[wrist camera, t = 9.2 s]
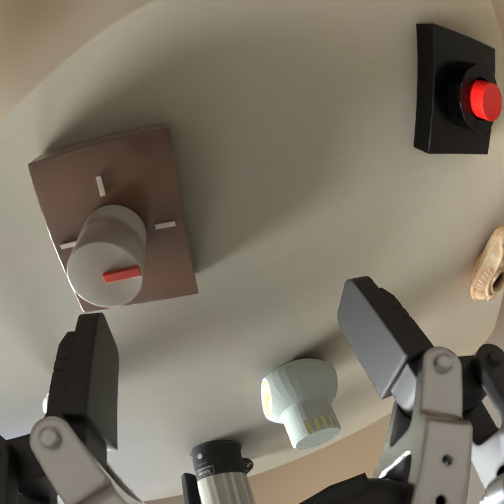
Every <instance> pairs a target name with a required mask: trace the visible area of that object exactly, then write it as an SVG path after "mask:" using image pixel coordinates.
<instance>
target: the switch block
mask: <svg viewBox="0 0 504 504" xmlns="http://www.w3.org/2000/svg"><path fill="white" fill-rule="evenodd" d="M416 25H417V52H418V81H417V109H416V125H415V137H414V147H415V148H417V149H419V150H422V151H424V152H426V153H428V154H488V148H489V141H490V134H491V126H492V124H493V122H494V121H488V120H485V119H482V118H480V117H477V116H475V115H474V114H473V113H472V112H471V110H470V106H469V89H470V87H471V84H472V82H474V81H475V80H482V81H487V82H491V83H494V84H495V85H497V84H496V80H495V49H494V48H492V47H490V46H488V45H486V44H483V43H481V42H479V41H477V40H474V39H472V38H470V37H467V36H465V35H462V34H460V33H457V32H455V31H452V30H450V29H447V28H444V27H441V26H439V25H436V24H416Z"/></svg>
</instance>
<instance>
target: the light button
mask: <svg viewBox="0 0 504 504" xmlns="http://www.w3.org/2000/svg"><path fill="white" fill-rule="evenodd" d="M469 106H470V110H471V112H472V113H473V114H474V115H475V116H477V117H480V118H482V119H485V120H488V121H495V120H496V119H497V118H498V117H499V115H500V112H501V108H502V97H501V93H500V90H499V88H498V87H497V85H495V84H494V83H491V82H487V81H482V80H475V81H474V82H472V84H471V87H470V89H469Z"/></svg>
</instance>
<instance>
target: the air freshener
mask: <svg viewBox="0 0 504 504" xmlns="http://www.w3.org/2000/svg"><path fill="white" fill-rule="evenodd" d="M337 387H338V381H337V374H336V371H335V369H334V367H333V366H332V365H331V364H329V363H327V362H325V361H322V360H319V359H299V360H294V361H291V362H288V363H286V364H283V365H281V366H279V367H278V368H276V369H274V370H273V371H272V372H270V373H269V374H268V375H267V376H266V377H265V378H264V379H263V381H262V387H261V397H262V406H263V410H264V414H265V416H266V418H267V419H268V420H270V421H273V422H277V423H284V424H285V427H286V430H287V432H288V435H289V438H290V440H291V443H292V446H293V447H295V448H297V449H309V448H313V447H316V446H319V445H321V444H323V443H326V442H327V441H329V440H331V439H332V438H334V437H335V436H336V435H337V434H338V433H339V431H340V428H341V426H340V424H339V422H338V420H337V418H336V416H335V413H334V411H333V409H332V407H331V403H332V402H333V401H334V399H335V397H336V393H337Z"/></svg>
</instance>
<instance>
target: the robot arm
mask: <svg viewBox="0 0 504 504" xmlns="http://www.w3.org/2000/svg"><path fill="white" fill-rule="evenodd" d="M338 323H339V326H340V328H341V330H342V332H343V334H344V335H345V337H346V339H347V340H348V342H349V344H350V345H351V347H352V349H353V351H354V352H355V354H356V356H357V357H358V359H359V361H360V363H361V364H362V366H363V368H364V370H365V371H366V373H367V375H368V377H369V378H370V380H371V382H372V384H373V385H374V387H375V389H376V391H377V392H378V394H379V396H380V398H381V399H384V398H387V397H389V396H392V395H393V396H394V398H395V402H394V404H393V409H392V415H391V420H390V425H389V430H388V435H387V439H386V444H385V448H384V452H383V454H382V456H381V458H380V459H379V461H378V464H377V466H376V468H375V471H374V474H373V478H367V476H366V474H365V473H363V474H360V475H358V476H355V477H353V478H350V479H347V480H345V481H342V482H339V483H336V484H334V485H331V486H329V487H327V488H325V489H324V490H322V491H320V492H319V493H317V494H315V495H314V496H312V497H310V498H309V499H307V500H305V501H303V502H301V503H300V504H466V501H467V494H468V487H469V478H470V468H471V460H472V462H473V464H474V466H475V468H476V470H477V473H478V474H479V477H480V479H481V481H482V483H483V485H484V488H485V490H486V491H485V495H483V496H482V497H481V499H480V504H504V352H503V350H501V349H500V348H499V347H498V346H496V345H493V344H484V345H482V346H481V347H480V348H479V350H478V351H477V353H476V354H475V355H472V356H459V357H457V356H456V354H455V353H453V352H452V351H451V350H449V349H447V348H444V347H434V346H433V345H432V343H431V342H430V341H429V339H428V338H427V337H426V335H425V334H424V333H423V331H422V330H421V329H420V328H419V326H418V325H417V324H416V322H415V321H414V320H413V319H412V317H411V316H410V317H409V314H408V312H407V311H406V310H405V309H404V308H402V305H401V304H400V302H399V301H398V300H397V299H396V298H395V296H394V295H392V294H391V293H389V292H388V291H386V290H385V289H383V288H378V286H377V285H376V284H375V283H374V282H373V280H372V279H371V278H370V277H368V276H364V277H359V278H353V279H348V280H347V281H346V282H345V285H344V289H343V293H342V297H341V301H340V305H339V309H338ZM118 371H119V355H118V349H117V346H116V343H115V341H114V338H113V336H112V333H111V331H110V329H109V326H108V324H107V321H106V319H105V316H104V314H103V313H92V314H81V315H79V317H78V321H77V325H76V329H75V331H73V332H67V334H66V335H65V336H64V338H63V339H62V341H61V342H60V344H59V347H58V351H57V356H56V361H55V365H54V372H53V375H52V380H51V385H50V390H49V396H48V402H47V409H46V414H45V417H44V418H43V419H41V420H39V421H38V422H37V423H36V424H35V425H34V427H33V428H32V430H31V433H30V434H28V435H24V436H21V437H17V438H13V439H9V440H5V439H4V438H3V437H2V436H1V435H0V504H58V503H57V495H59V496H60V497H61V499H62V500H63V502H64V503H65V504H145V503H144V502H143V501H142V500H141V499H140V498H139V497H138V496H137V495H136V494H135V493H134V492H133V491H132V490H131V489H130V488H129V487H128V485H127V484H126V483H125V482H124V481H123V480H122V479H121V478H120V476H119V475H118V474H117V473H116V472H115V471H114V469H113V468H112V467H111V466H110V465H109V464H108V462H107V450H118V449H117V397H118ZM486 395H488V397H489V399H490V400H491V402H492V404H493V405H494V407H495V409H496V410H497V412H498V413H499V415H500V417H501V420H502V425H501V428H500V429H499V428H497V427H496V425H495V423H494V421H493V420H492V418H491V417H490V415H489V413H488V411H487V409H486V408H485V406H484V404H483V403H482V400H483V399H484V398H485V396H486Z"/></svg>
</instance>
